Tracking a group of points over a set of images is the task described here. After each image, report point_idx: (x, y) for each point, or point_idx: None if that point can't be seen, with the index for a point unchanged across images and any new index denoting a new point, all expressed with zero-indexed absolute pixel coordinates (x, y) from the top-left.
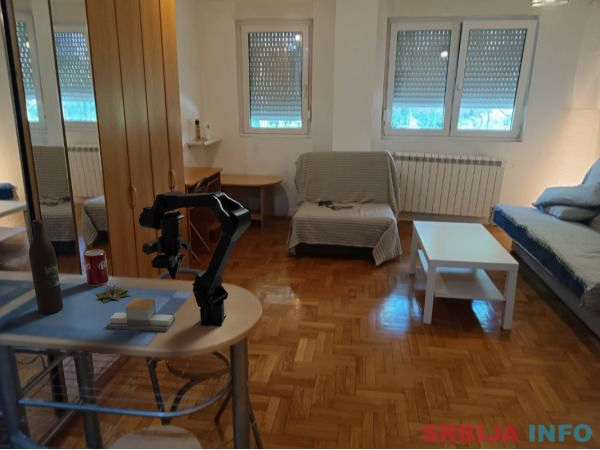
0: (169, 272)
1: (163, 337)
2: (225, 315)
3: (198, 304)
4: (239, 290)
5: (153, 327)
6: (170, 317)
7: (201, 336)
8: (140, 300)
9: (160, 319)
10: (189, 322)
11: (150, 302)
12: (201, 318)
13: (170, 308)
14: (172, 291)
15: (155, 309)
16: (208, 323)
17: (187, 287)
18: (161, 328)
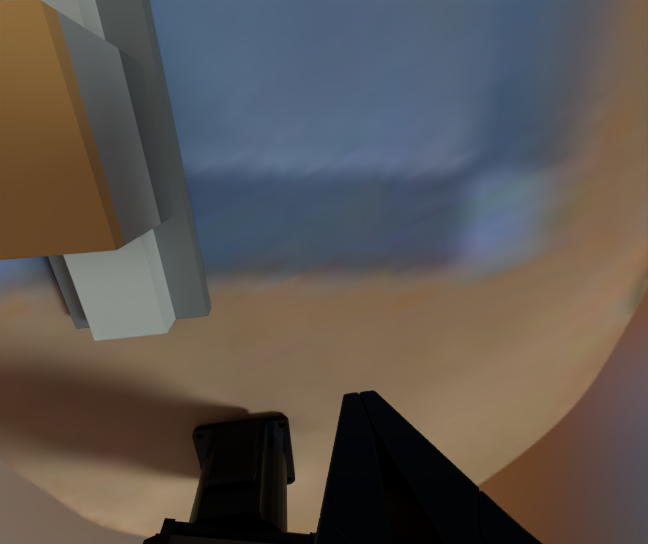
0: (329, 481)
1: (24, 328)
2: (288, 483)
3: (153, 540)
4: (527, 441)
5: (50, 258)
6: (136, 333)
7: (110, 459)
8: (25, 115)
9: (88, 291)
10: (207, 375)
11: (34, 243)
12: (215, 437)
13: (329, 228)
14: (550, 143)
15: (152, 226)
16: (205, 456)
17: (593, 212)
18: (67, 301)
